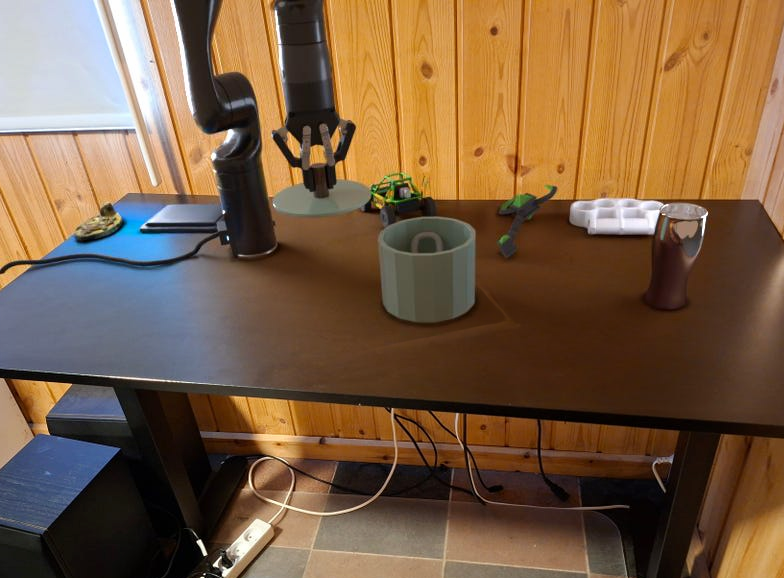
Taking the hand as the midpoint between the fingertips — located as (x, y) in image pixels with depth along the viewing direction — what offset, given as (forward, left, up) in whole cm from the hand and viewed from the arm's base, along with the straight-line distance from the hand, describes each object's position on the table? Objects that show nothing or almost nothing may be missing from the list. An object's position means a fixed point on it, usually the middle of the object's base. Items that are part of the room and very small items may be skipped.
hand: (320, 188), depth 103 cm
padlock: (+14, -12, -16) cm, 25 cm away
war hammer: (+40, +10, -18) cm, 45 cm away
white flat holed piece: (+59, +4, -18) cm, 62 cm away
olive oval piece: (-45, +49, -18) cm, 69 cm away
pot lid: (0, 0, -2) cm, 2 cm away
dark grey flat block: (-24, +46, -18) cm, 55 cm away
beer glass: (+49, -26, -18) cm, 58 cm away
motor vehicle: (+20, +28, -18) cm, 39 cm away
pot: (+14, -12, -18) cm, 26 cm away
